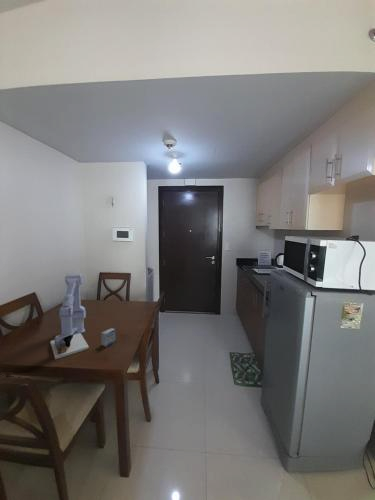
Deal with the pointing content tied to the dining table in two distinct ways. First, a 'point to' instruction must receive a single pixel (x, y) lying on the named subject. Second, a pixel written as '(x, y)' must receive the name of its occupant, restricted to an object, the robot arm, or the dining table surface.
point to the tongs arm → (62, 344)
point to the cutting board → (71, 346)
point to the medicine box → (108, 337)
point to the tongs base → (58, 347)
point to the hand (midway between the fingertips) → (67, 346)
